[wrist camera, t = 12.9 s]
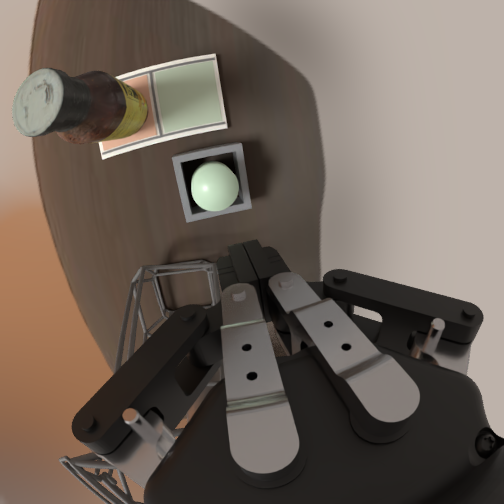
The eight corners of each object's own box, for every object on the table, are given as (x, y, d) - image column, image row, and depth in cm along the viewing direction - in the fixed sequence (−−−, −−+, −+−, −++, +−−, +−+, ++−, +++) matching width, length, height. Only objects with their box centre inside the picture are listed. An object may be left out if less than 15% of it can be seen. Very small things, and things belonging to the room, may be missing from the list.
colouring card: (226, 128, 31) (227, 127, 30) (103, 158, 29) (101, 159, 28) (215, 54, 26) (215, 53, 26) (90, 87, 24) (88, 86, 24)
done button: (236, 196, 33) (242, 206, 29) (196, 205, 32) (196, 215, 29) (229, 157, 30) (234, 161, 27) (187, 165, 30) (187, 171, 26)
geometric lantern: (237, 321, 44) (294, 537, 14) (144, 328, 42) (134, 545, 11) (235, 233, 37) (342, 531, 6) (122, 242, 34) (38, 524, 4)
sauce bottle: (157, 95, 27) (111, 52, 9) (139, 143, 29) (73, 167, 11) (109, 84, 24) (22, 47, 7) (93, 132, 26) (-8, 148, 9)
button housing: (246, 201, 36) (251, 208, 33) (186, 214, 35) (186, 222, 32) (237, 141, 32) (241, 143, 29) (173, 154, 31) (171, 157, 28)
